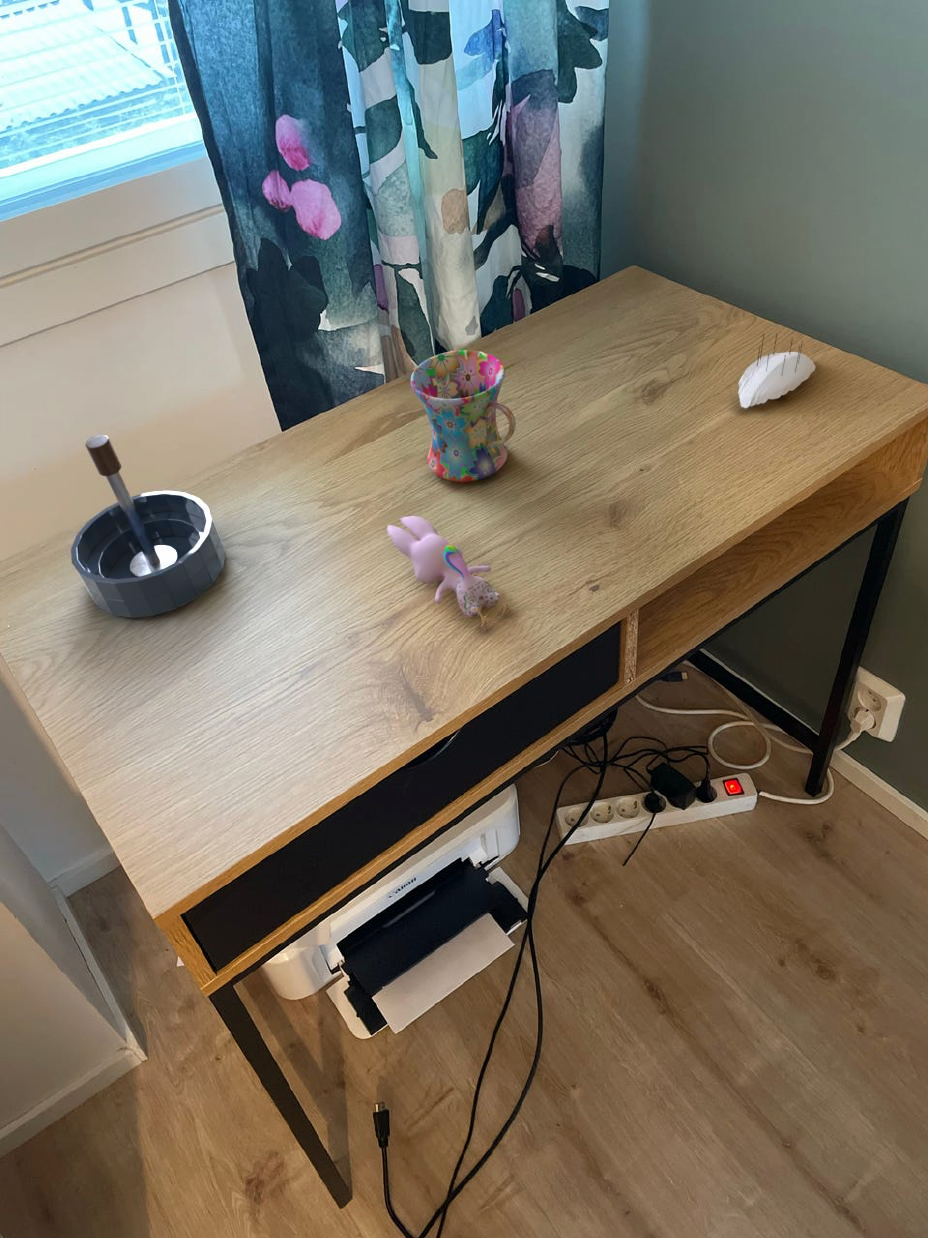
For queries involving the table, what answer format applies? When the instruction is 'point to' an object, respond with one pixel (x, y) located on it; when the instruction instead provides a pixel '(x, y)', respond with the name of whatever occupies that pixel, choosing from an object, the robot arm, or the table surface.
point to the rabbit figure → (445, 567)
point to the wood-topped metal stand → (129, 510)
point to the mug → (463, 413)
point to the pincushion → (773, 376)
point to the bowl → (113, 546)
